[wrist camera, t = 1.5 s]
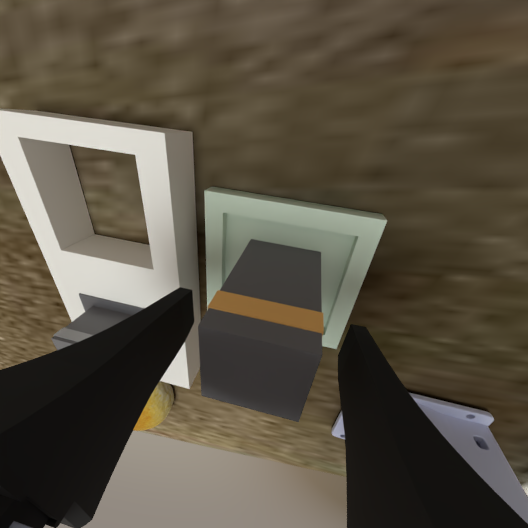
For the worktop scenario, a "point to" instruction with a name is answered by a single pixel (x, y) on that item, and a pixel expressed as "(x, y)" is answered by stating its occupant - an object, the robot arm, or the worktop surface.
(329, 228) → the tray
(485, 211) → the worktop surface
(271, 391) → the plug
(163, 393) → the bread roll
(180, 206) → the strip
